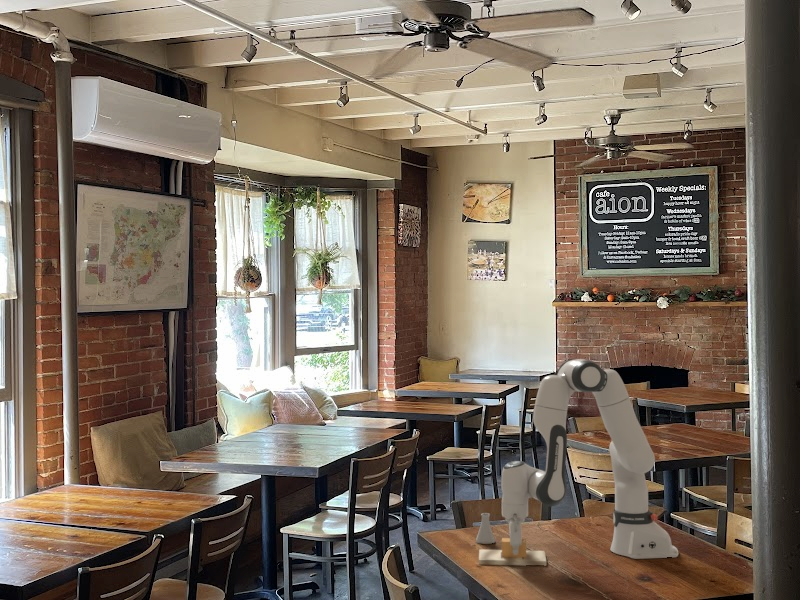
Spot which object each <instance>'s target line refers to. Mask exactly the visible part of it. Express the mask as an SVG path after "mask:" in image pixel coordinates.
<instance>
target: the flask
mask: <svg viewBox="0 0 800 600" xmlns="http://www.w3.org/2000/svg"><path fill="white" fill-rule="evenodd" d="M480 516H481V522H480V527H479V529H478V532H477V535H476V537H475V538H476V539H475V542H476V544H483V545H489V544H490V545H491V544H492V543H493V544H494V543H496V538H495V536H494V534H493V531H492V530H493V529H492V527H491V523H490V516H491V513H488V512H482V513H481V514H480Z"/></svg>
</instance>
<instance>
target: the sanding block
mask: <svg viewBox="0 0 800 600" xmlns="http://www.w3.org/2000/svg"><path fill="white" fill-rule="evenodd" d="M501 550H502V557H526V550H527V538H521V546H519V548H518V555H513V547H512V546H511V545H510V537H502V538H501Z"/></svg>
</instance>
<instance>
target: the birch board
mask: <svg viewBox="0 0 800 600" xmlns="http://www.w3.org/2000/svg"><path fill="white" fill-rule="evenodd" d="M478 565H485V566H488V565H489V566H526V565H544V566H543V567H545V566H547V565H548V564H547V558H546V552H545V550H531V549H530V550H527V549H526V557H502V549H485V548H484V549H479V551H478Z"/></svg>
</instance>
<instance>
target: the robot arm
mask: <svg viewBox="0 0 800 600" xmlns="http://www.w3.org/2000/svg"><path fill="white" fill-rule="evenodd" d="M576 392H578V393H581V392H583V393H592V395H593V397H594V398H595V401H596V405H597V408H598V411H599V414H600V416H601V420H602V423H603V425H604V428H605V429H606V431H607V433H608V435H609V437H610V439H611V442H610V443H609V447H608V451H609V455H610V462H611V469H612V476H613V482H614V509H613V514H612V515H613V517H612V518H613V519H612V521H613V526H614V528H613V536H612V537H613V538H612V541H611V546H610V547H609V549H610V551H611V552H613V554H617V555H619V556H620V555H621V556H623V557H627V558H630V559H635V560H636V559H638V560H639V559H643V560H644V559H663V558H664V559H665V558H666V559H667V557H672V558H677V557H679V550H678V548H677V547H676V546H674V545H672V539H671V537H670V536H671V535H670V534H669V532H668V531H666V530H665V529H664V528H663V527H662V526H660V525H659V524H657V522H656V521H657V520H658V516H657V514H655V513H654V512H653V511H651V510H649V487H648V486H649V485H648V484H647V480H646V476H645V475H646V473H648V472H650V471H651V470H652V469H653V467H654V465H655V463H656V456H655V454H654V451H653V450H652V447H651V445H650V443H649V441H648V438H647V436H646V435H645V432H644V430H643V428H642V426H641V424H640V422H639V420H638V418H637V416H636V415H637V414H636V412H635V411H634V407H633V404H632V401H631V398H630V395H629V393H628V390H627V387H626V385H625V383H624V381H623V379H622V377H621V376H620V374H619V373H618V372H617V371H616V370H614V369H613V368H611V369H610V368H606V369H603V368H602V367H601V366H600V365H599V364H597V363H596V362H594V361H593V360H589V359H584V358H576V359H575V358H571V359H568V360H565V361H563V362H562V364H561V365H560V366H559V368H558V369H557V371H555V373H554V374H549V375H546V376H544V377H543V378H542V379H541V382H540V384H539V387H538V390H537V393H536V398H535V404H534V408H533V414H532V416H533V424H534V427H535V428H536V430H537V432H539V433H540V434H541V436H542V437H543V439H544V441H545V444H546V460H545V461H546V463H545V470H543V469H539V468H537V467H536V468H535V467H533V466H531V465H529V464H527V463H526V462H525V461H521V460H514V461H510V462H507V463H506V464H504V466H503V467H502V471H501V478H500V479H501V480H500V481H501V482H500V485H501V492H502V498H501V516H502V517H503V518H505V521H506V522H507V523H508V528H509V529H508V530H509V538H510V545H511V546H512V547H513V555H518V548H519V546H521V539H522V523H524V522H525V519H527V517H529V499H532V498H533V499H534V500H537V501H539V502H540V503H542V504H543V505H545V506H547V507H555V506H558V505H559V504H561V503H562V502H563V500H565V498H566V495H567V494H568V493H567V491H568V486H567V481H566V460H567V446H568V445H567V442H568V435H567V417H568V416H567V415H568V410H569V409H568V408H569V401H570V398H571V396H572V395H573V394H574V393H576Z"/></svg>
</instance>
